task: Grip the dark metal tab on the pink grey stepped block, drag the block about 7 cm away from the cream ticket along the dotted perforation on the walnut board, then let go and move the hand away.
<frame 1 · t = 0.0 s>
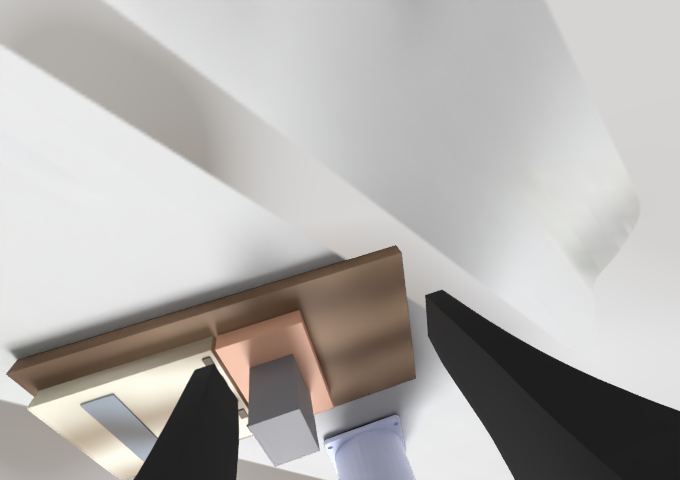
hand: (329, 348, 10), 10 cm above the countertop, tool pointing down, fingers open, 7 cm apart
pink grey stepped block: (283, 400, 21), point 4 cm above the countertop, slide at 0.0 cm
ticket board: (221, 376, 24), on the countertop
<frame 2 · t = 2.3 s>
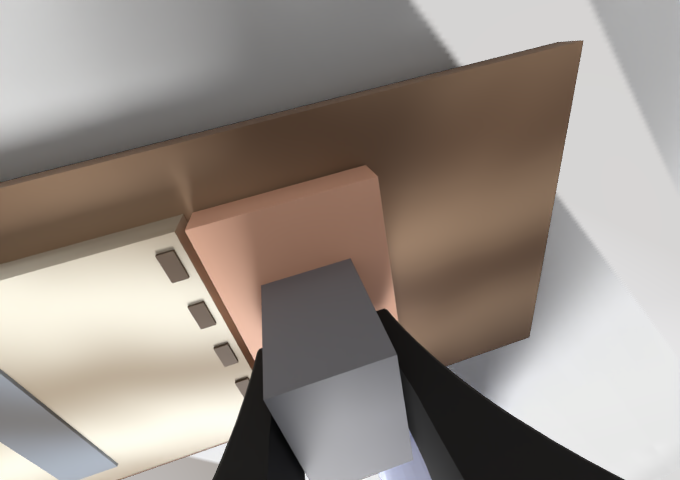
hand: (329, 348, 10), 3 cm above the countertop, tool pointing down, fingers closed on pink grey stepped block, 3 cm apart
pink grey stepped block: (331, 355, 10), point 4 cm above the countertop, slide at 0.0 cm, touching gripper
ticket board: (206, 319, 13), on the countertop
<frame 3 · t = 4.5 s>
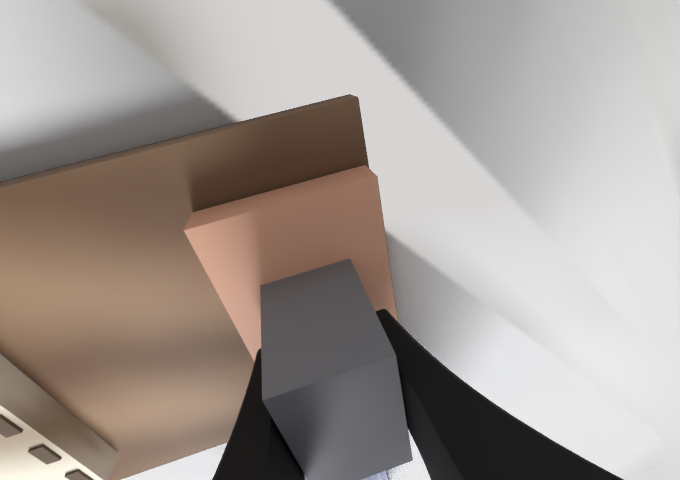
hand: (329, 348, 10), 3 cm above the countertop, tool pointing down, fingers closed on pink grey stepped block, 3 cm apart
pink grey stepped block: (330, 355, 10), point 4 cm above the countertop, slide at 7.5 cm, touching gripper
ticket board: (16, 378, 12), on the countertop
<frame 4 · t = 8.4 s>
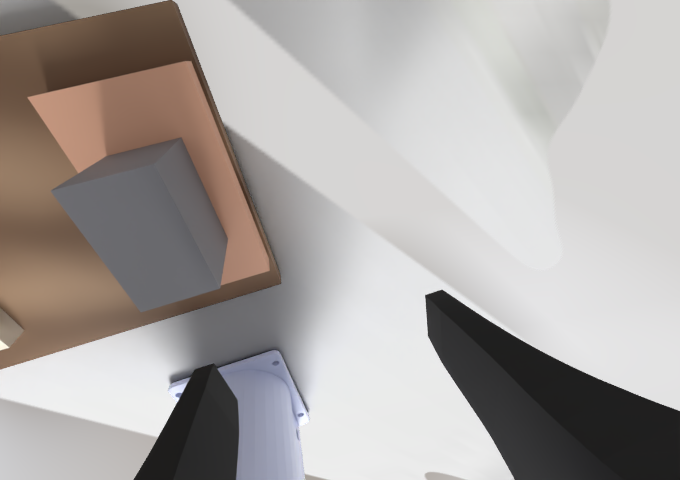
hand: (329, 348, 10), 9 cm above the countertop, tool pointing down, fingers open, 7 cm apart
pink grey stepped block: (165, 214, 13), point 4 cm above the countertop, slide at 7.5 cm
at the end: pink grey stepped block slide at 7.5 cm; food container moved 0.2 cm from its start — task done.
